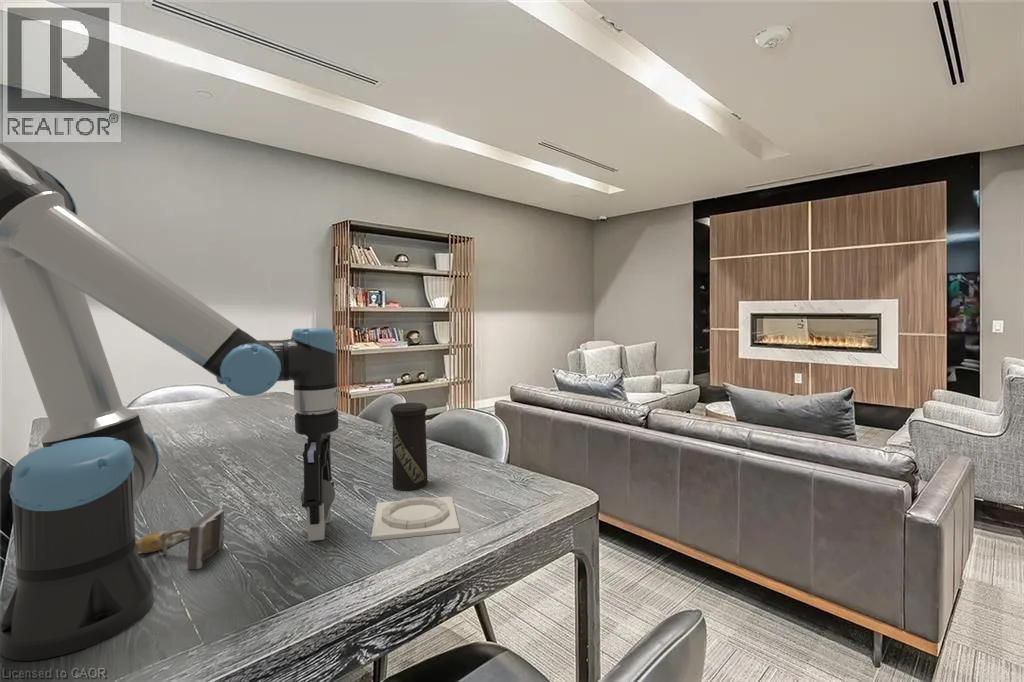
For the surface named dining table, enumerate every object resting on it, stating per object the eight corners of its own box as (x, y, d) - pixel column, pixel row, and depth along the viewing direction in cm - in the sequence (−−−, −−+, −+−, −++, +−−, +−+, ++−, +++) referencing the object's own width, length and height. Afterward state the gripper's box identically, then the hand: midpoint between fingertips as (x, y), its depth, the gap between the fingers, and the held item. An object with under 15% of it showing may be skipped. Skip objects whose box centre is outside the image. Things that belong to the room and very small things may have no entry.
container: (383, 487, 112) (382, 404, 111) (408, 476, 120) (407, 399, 119) (412, 493, 108) (410, 407, 107) (435, 481, 116) (435, 401, 115)
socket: (459, 531, 88) (459, 522, 88) (371, 540, 85) (371, 531, 85) (451, 500, 104) (451, 492, 104) (377, 506, 101) (377, 498, 100)
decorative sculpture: (126, 559, 79) (124, 516, 79) (181, 533, 89) (179, 495, 88) (198, 573, 75) (196, 528, 74) (248, 544, 84) (247, 504, 84)
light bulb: (323, 540, 85) (322, 486, 85) (294, 537, 86) (293, 484, 86) (342, 526, 91) (341, 475, 90) (314, 523, 92) (313, 473, 92)
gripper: (329, 420, 79) (332, 553, 80) (344, 400, 98) (347, 508, 99) (281, 422, 77) (285, 558, 78) (306, 402, 96) (309, 511, 97)
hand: (320, 530), depth 89 cm, fingers open, 7 cm apart
